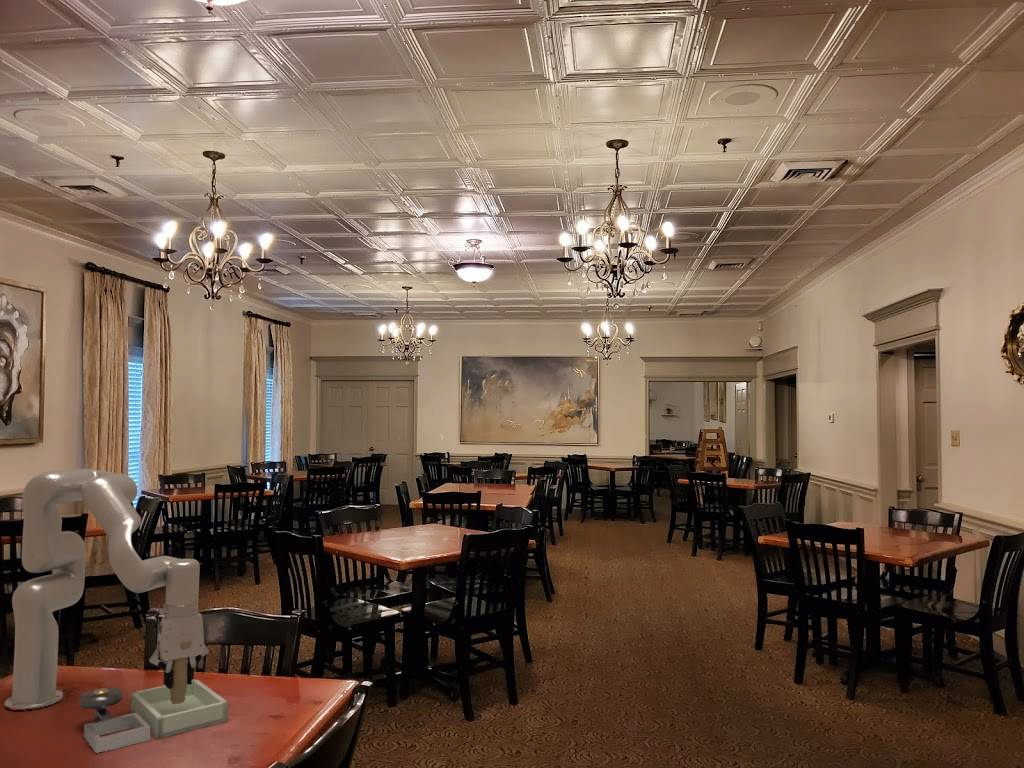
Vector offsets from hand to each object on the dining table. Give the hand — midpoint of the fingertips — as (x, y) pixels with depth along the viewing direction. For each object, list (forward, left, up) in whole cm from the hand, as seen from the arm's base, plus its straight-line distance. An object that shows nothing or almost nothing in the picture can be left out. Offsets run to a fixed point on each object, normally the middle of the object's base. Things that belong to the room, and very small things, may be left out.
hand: (178, 684), depth 184 cm
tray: (0, 0, -8) cm, 8 cm away
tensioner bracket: (0, -15, -8) cm, 17 cm away
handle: (0, 0, -4) cm, 4 cm away
